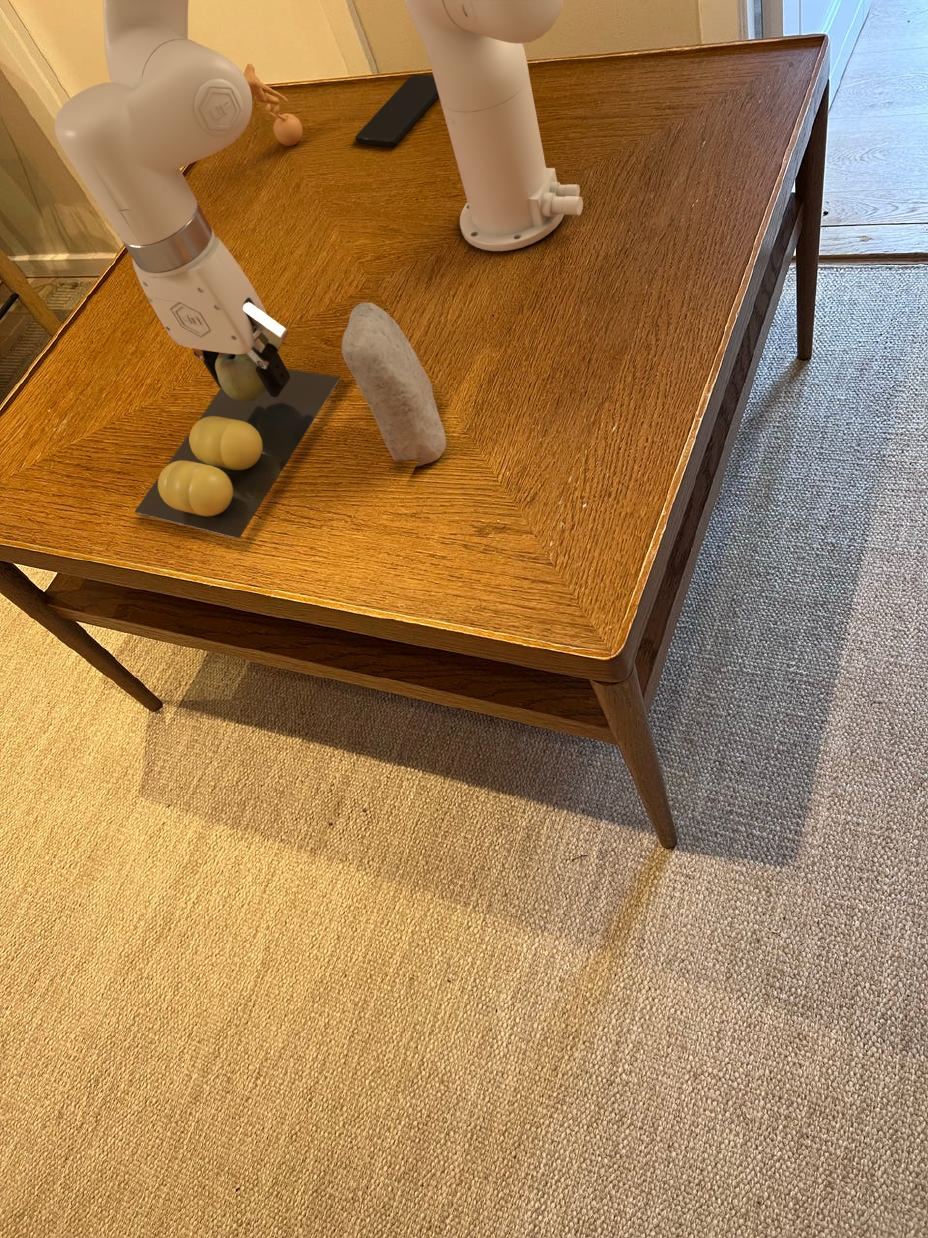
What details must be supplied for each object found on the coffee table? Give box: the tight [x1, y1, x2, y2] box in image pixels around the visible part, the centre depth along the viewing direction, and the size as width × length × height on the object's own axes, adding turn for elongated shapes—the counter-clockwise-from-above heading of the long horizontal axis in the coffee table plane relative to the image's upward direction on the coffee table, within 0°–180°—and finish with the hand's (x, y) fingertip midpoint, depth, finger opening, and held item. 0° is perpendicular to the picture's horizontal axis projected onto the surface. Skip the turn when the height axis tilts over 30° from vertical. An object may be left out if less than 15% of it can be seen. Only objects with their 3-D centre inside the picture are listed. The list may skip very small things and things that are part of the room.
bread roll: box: [157, 460, 233, 516], centre depth 90 cm, size 8×5×5 cm, turn 65°
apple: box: [215, 338, 267, 402], centre depth 94 cm, size 6×8×6 cm
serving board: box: [133, 368, 342, 540], centre depth 96 cm, size 14×22×2 cm, turn 155°
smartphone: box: [355, 74, 439, 148], centre depth 124 cm, size 7×1×15 cm
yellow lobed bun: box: [189, 416, 262, 470], centre depth 93 cm, size 8×5×5 cm, turn 65°
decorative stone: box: [341, 302, 447, 468], centre depth 86 cm, size 11×6×15 cm, turn 5°
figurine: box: [243, 63, 303, 147], centre depth 123 cm, size 8×6×12 cm
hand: (254, 381), depth 96 cm, fingers closed on apple, 6 cm apart
